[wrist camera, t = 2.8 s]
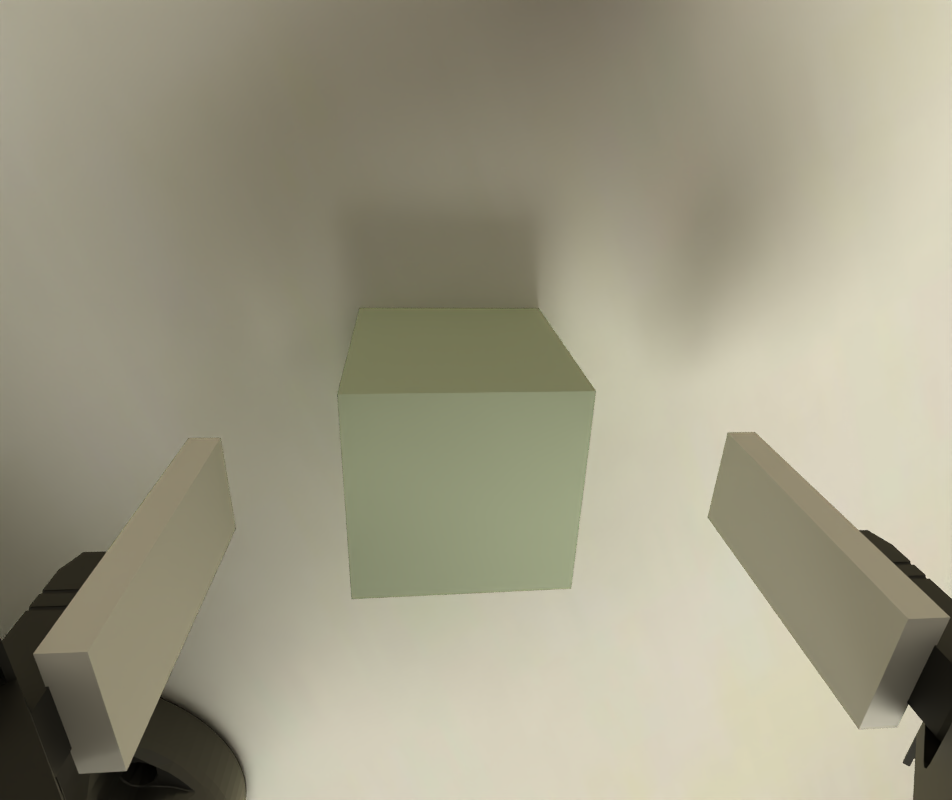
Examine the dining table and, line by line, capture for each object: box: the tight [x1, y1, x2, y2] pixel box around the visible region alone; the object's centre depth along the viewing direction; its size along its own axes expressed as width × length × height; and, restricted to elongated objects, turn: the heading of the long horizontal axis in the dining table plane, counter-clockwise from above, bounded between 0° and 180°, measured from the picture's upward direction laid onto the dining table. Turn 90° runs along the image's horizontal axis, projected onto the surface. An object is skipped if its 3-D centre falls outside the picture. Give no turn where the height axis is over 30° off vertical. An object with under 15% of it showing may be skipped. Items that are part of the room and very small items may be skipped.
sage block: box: [337, 308, 596, 599], centre depth 18 cm, size 6×6×7 cm
